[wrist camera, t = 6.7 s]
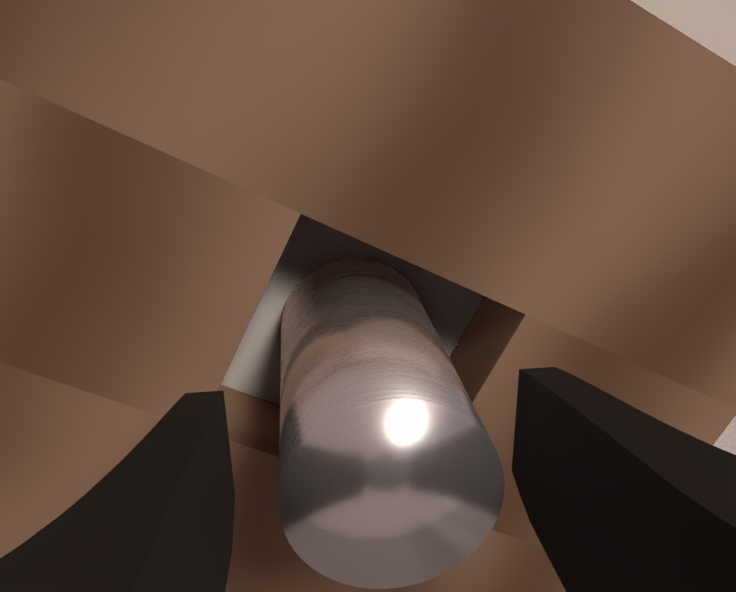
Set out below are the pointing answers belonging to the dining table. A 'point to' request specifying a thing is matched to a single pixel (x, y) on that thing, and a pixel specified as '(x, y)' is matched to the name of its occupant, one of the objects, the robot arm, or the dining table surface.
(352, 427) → the steel roller
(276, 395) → the dining table surface
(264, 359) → the dining table surface
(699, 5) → the dining table surface
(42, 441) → the walnut plate
